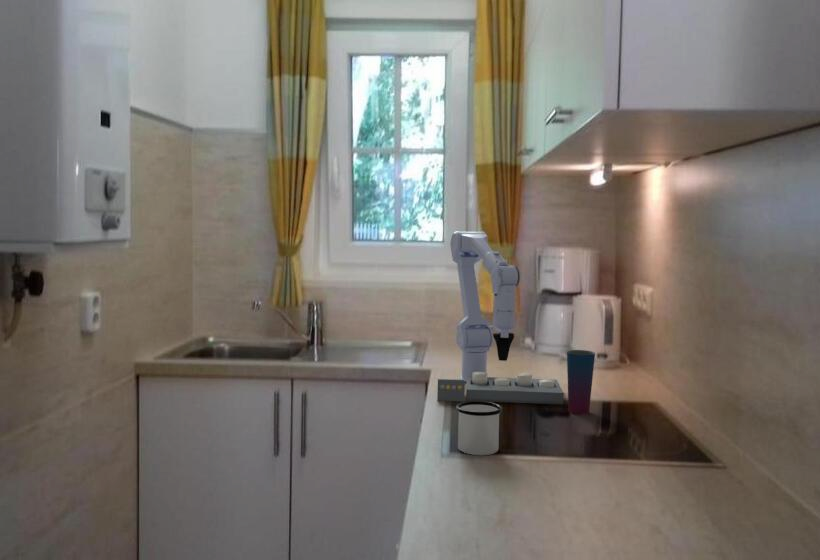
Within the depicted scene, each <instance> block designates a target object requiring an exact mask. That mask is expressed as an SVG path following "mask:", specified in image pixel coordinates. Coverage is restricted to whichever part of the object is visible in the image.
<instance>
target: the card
mask: <svg viewBox="0 0 820 560" xmlns="http://www.w3.org/2000/svg"><path fill="white" fill-rule="evenodd" d="M465 384H466V382H465V379H459V378H437V394H436V395H437V398H436V399H437V400H436V401H438V400H443V401H444V402H445V401H446V402H465V393H466V390H465V388H466V387H465V386H466V385H465ZM443 401H442V402H443Z"/></svg>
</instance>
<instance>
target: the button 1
mask: <svg viewBox="0 0 820 560" xmlns="http://www.w3.org/2000/svg"><path fill="white" fill-rule="evenodd" d="M487 377H488V373H487V372H486V373H485V372H473V376H472V385H487Z"/></svg>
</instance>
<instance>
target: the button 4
mask: <svg viewBox="0 0 820 560" xmlns="http://www.w3.org/2000/svg"><path fill="white" fill-rule="evenodd" d="M546 379H547V378H544V380H539V387H554V381H553V380H554V379H553V380H546Z"/></svg>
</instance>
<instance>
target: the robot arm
mask: <svg viewBox="0 0 820 560" xmlns="http://www.w3.org/2000/svg"><path fill="white" fill-rule="evenodd" d="M488 238H489V237H488V235H487V234H486V232H485V231H458V230H455V231H454V232H453V233H452V235H451V238H450V243H449V245H450V246H449V247H450V251H451V258H452V261H453V262H454V263H456V266H457V267H456V268H457V274H458V280H459V281H458V282H459V288H460V295H461V302H462V303H461V304H462V309H463V310H462V311H463V317H464V318H462V320H461V321H460V322H459V323H458V324H457V325H456V335H455V336H456V337H455V339H456V344H457V347H458V348H459V349H460V351H462V353H461V354H462V355H461V356H462V357H461V374H460V375H459V377H460V379H465V383H467V376H468V377H472V376H473V372H485V373H487V368H488V367H487V365H488V364H487V362H488V352H489V351H490V349H491V347H493V344H494V341H495V344H496V349H497V359H498V361H504V362H506V361H507V360H508V358H509V353H510V348H511V344H512V342H513V341H514V339H515V333H514V331H515V330H516V325H515V324H516V323H515V322H516V321H515V319H516V317H515V316H516V291H517V289H516V288H517V287H518V286H519V284H520V282H521V272H520V268H519V267H518V265H516V264H509V263H508V262H507V261H506V258H504V257H503V256H502V254H501V253H500V252H499V251H497V250H496V251H493V250H492V248H491V246H490V245H489V241H488V240H489V239H488ZM481 260H482V266H483V268H484V269H485V270H486V272H487V273H488V274H489V275H490V283H491V291H492V293H493V319H492V320H493V321H492V322H493V323H492V325H491V323H490V321H488V320H487V319H486V318H485V317H483V316H482V312H481V311H482V310H481V305H480V298H479V291H478V284H477V278H476V271H475V264H477V263H479V262H481ZM494 331H496V333H494ZM497 332H498V333H497Z"/></svg>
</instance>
